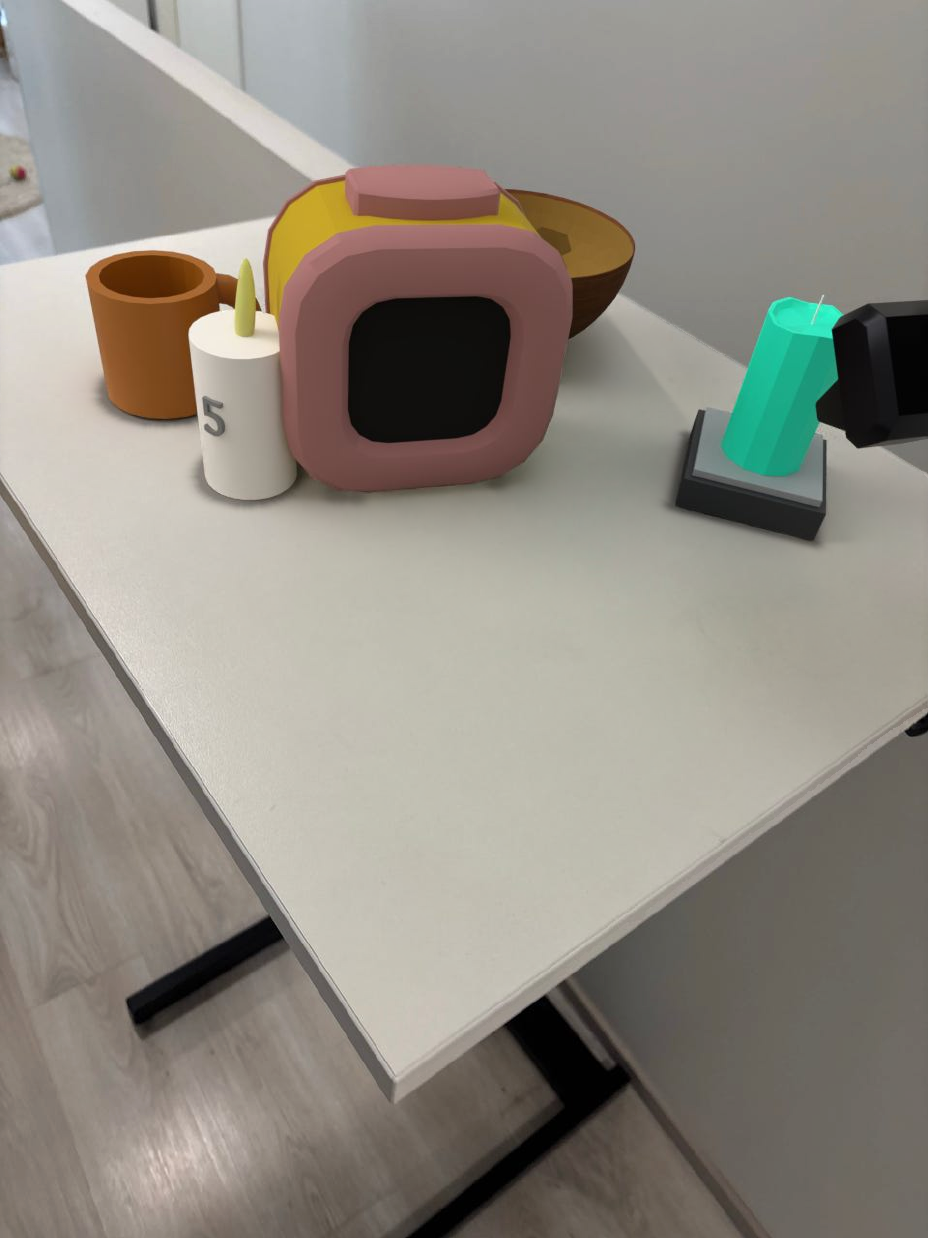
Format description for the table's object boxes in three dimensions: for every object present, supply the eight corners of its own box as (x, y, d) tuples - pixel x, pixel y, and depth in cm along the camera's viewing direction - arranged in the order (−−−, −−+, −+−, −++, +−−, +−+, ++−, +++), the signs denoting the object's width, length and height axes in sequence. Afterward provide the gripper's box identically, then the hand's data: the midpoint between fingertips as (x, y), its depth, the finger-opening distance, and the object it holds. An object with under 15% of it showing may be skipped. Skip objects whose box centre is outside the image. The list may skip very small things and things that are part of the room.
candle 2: (805, 483, 64) (876, 324, 56) (721, 467, 65) (779, 306, 56) (799, 438, 69) (864, 284, 60) (720, 423, 69) (774, 267, 61)
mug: (272, 417, 69) (267, 304, 63) (104, 423, 66) (80, 305, 60) (264, 357, 75) (258, 248, 69) (109, 360, 72) (89, 247, 66)
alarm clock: (289, 509, 61) (277, 216, 48) (268, 419, 69) (253, 143, 55) (546, 487, 66) (601, 214, 53) (501, 405, 74) (540, 147, 60)
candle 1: (183, 479, 62) (153, 264, 52) (243, 436, 67) (227, 230, 56) (258, 513, 61) (243, 298, 50) (314, 467, 65) (312, 259, 55)
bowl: (499, 417, 72) (518, 296, 65) (372, 322, 81) (376, 207, 74) (649, 363, 81) (680, 251, 74) (519, 283, 90) (535, 176, 83)
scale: (815, 466, 72) (830, 432, 70) (813, 541, 65) (830, 506, 63) (689, 435, 73) (700, 401, 71) (674, 505, 66) (686, 470, 64)
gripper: (1299, 117, 40) (994, 258, 55) (960, 112, 34) (725, 269, 49) (1329, 373, 40) (1018, 443, 55) (998, 408, 35) (753, 475, 49)
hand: (885, 405), depth 52 cm, fingers open, 9 cm apart
